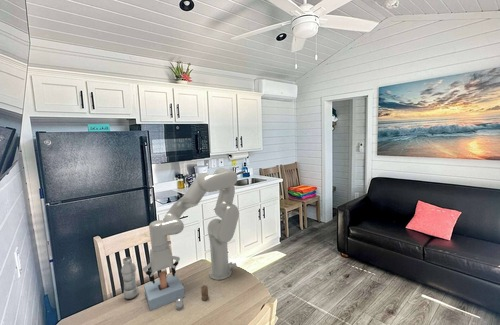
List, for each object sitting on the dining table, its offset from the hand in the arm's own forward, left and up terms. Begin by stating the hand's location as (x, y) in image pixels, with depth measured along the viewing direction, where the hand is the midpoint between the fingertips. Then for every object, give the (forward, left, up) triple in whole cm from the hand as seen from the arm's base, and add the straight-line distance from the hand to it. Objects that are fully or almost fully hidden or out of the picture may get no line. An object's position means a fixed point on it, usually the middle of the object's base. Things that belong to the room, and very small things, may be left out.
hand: (163, 278), depth 122 cm
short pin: (-4, +13, -9) cm, 16 cm away
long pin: (0, 0, -9) cm, 9 cm away
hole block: (0, 0, -9) cm, 9 cm away
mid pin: (-16, +14, -9) cm, 23 cm away
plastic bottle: (+14, -9, -9) cm, 19 cm away
